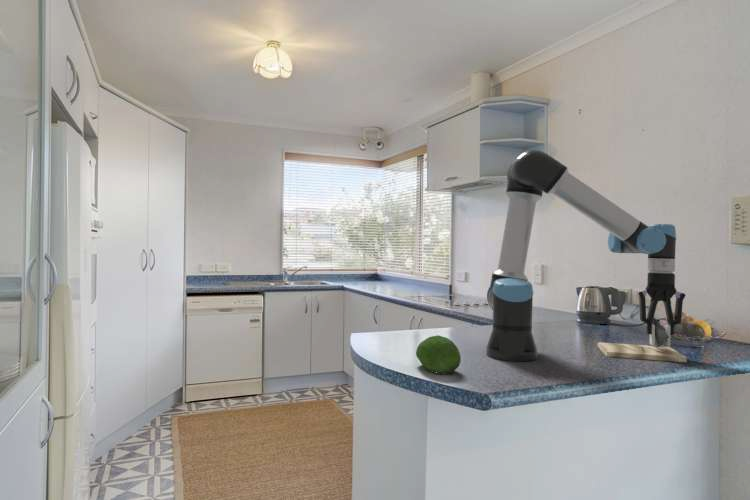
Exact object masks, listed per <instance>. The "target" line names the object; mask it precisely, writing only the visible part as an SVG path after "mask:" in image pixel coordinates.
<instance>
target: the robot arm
mask: <svg viewBox="0 0 750 500" xmlns="http://www.w3.org/2000/svg"><path fill="white" fill-rule="evenodd" d="M506 176H507V177H506V179H507V183H506V191H505V194H506V197H508V199H509V200H508V201H509V202H508V207H507V212H506V219H505V224H504V230H503V236H502V241H501V248H500V255H499V260H498V264H497V265H498V266H497V269H496V270H494V271H493V272H492V274H491V279H490V286H489V287H488V290H487V293H486V299H487V300H486V301H487V303H488V306H489V308H490V309H491V310H492V331H491V333H490V336H489V339H488V342H487V345H486V351H485V353H486V356H488V357H490V358H493V359H496V360H502V361H509V362H529V361H530V362H531V361H535V360H537V359H538V353H539V352H538V348H537V345H536V341H535V338H534V336H533V335H534V334H533V300H534V299H533V296H534V289H533V284H532V283H531V282H530V281H528V280H529V278H528V277H527V276H526V274H525V269H526V263H527V258H528V252H529V245H530V241H531V235H532V228H533V223H534V216H535V211H536V205H537V202H538V201H540V200H541V199H542V198H543V193H546V194H547V195H549V194H553V196H556V197H557V198H559V199H560V200H561V201H563V202H565V203H566V204H567V205H569V206H570V207H572V208H573V209H575V210H576V211H578V212H579V213H581V214H583V215H584V216H585V217H586V218H588V219H590V220H591V221H592V222H594V223H596V224H597V225H598V226H600V227H601V228H603V229H604V230H606V231H607V232H609V234H608V236H607V237H608V239H607V247H608V249H609V252H611V253H613V254H614V253H615V254H644V255H647V270H648V273H647V284H646V287H645V289H644V290H640V291H639V290H638V291H637V292H636V294H637V296H638V299H639V303H638V304H639V321H641V322H642V323H645V324H646V331H645V332H646V334H647V335H649V345H650V346H654V345H655V325H654V324H652V323H653V318H655V315H656V314H655V313H656V309H657V305H658V303H659V302H662V303H663V305H664V310H665V311H664V312H665V315H666V320H667V321H666V322H667V324H664V325H665V326H664V328H665V330H666V333H667V335H668V336H669V338H667V339H666V340H665V341H664V345H665V347H671V336H674V334H675V326H677V325H680V324H682V315H683V313H682V312H683V303H684V301H683V300H684V299H685V297H686V294H685V293H684V292H679V291H677V288H676V286H675V284H676V274H675V273H673V272H676V247H677V246H676V243H677V242H676V241H677V234H676V226H675V225H674V224H672V223H671V224H670V223H659V224H658V223H656V224H655V223H653V224H649V226H648V225H647V224H645V223H644V222H642V221H641V220H640V219H637V218H636V217H635V216H633V215H632V214H630V213H629V212H628V211H626V210H625V209H622V208H621V207H620V206H618V205H617V204H616V203H614V202H612V201H611V200H610V199H608V198H607V197H605V196H604V195H602V194H600V193H599V192H598V191H596V190H595V189H594V188H592V187H590V186H589V185H587V184H586V183H584V182H583V181H581V180H580V179H579V178H578V177H575V176H574V175H573V174H572V173H569V169H568V167H567V166H566V165H564V164H563V163H561V162H560V161H559V160H557V159H555V158H554V157H553V156H551V155H550V154H548V153H547V152H544V151H541V150H538V149H529V150H526V151H524V152H522V153H521V154H519V155H518V157H517V158H516V159H515V160H514V161H512V163H511V164H510V166H509V167H508V170H507V174H506ZM647 295H648V296H649V297H650V301H649V302H650V303H649V307H648V313H647V307H646V304H647V303H646V302H647V301H646V297H647ZM674 295H675V308H674V314H673V309H672V305H671V304H672V301H671V300H672V298H673V297H674Z"/></svg>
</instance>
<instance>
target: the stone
mask: <svg viewBox="0 0 750 500" xmlns="http://www.w3.org/2000/svg"><path fill="white" fill-rule="evenodd" d="M652 324H654V325H655V345H653V346H654V347H656V348H659V347H660V346H662V345H663V344H664V343H665V340H666V339H667V338H669V336H668V335H667V333H666V330H665V326H663V324H661V322H659V320H657V318H656V317H654V318H653V323H652Z"/></svg>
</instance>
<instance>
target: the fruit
mask: <svg viewBox="0 0 750 500" xmlns="http://www.w3.org/2000/svg"><path fill="white" fill-rule="evenodd" d="M460 353H461V352H460V350H459V349H458V347H457V345H456V344H455V342H454V341H452V340H451V339H450V338H448V337H445V336H441V335H432V336H428V337H427V338H426V339H424V340H423V341H421V342H420V343H419V344H418V346H417V348H416V350H415V354H416V355H415V356H416V357H417V359H418V360H419V362H420V364H421V366H423V367H424V368H425V369H426V370H427V369H428V370H427V371H429V370H430V371H433V372H437V373H450V374H452V373H454V372H455V371H456V370H457V369H458V368H459V367H460V364H461V361H462V360H461V354H460ZM430 371H429V372H430ZM433 372H432V373H433ZM437 373H436V374H437Z"/></svg>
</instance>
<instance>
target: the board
mask: <svg viewBox="0 0 750 500" xmlns="http://www.w3.org/2000/svg"><path fill="white" fill-rule="evenodd" d="M597 347H598V349H600V351H601V352H602V353H603V354H604V355H605V357H609V358H610V357H611V358H623V359H634V360H635V359H636V360H649V361H662V362H663V361H664V362H676V363H678V362H679V363H688V362H687V360H688V358H687V356H685V355H684V354H682V353H680V352H678V351H677V350H675V349H674V348H672V347H671V346H662V345H661V346H660V347H659V348H656V347H654V345H646V344H645V345H644V344H633V343H632V344H629V343H613V342H600V341H599V342H597Z"/></svg>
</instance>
